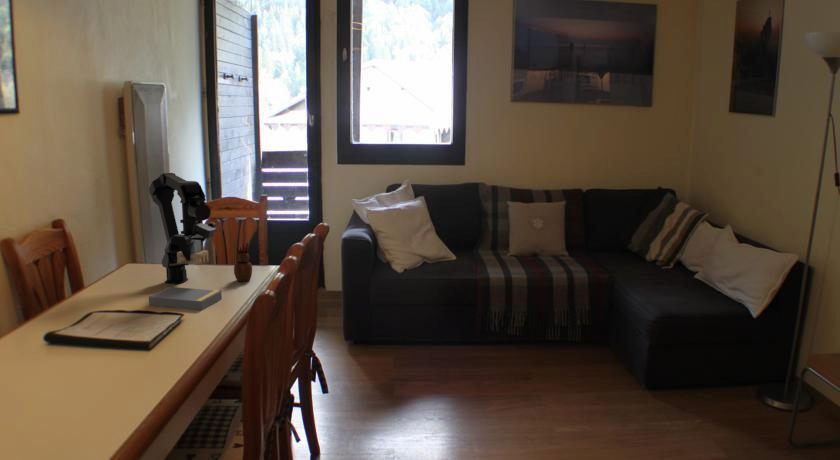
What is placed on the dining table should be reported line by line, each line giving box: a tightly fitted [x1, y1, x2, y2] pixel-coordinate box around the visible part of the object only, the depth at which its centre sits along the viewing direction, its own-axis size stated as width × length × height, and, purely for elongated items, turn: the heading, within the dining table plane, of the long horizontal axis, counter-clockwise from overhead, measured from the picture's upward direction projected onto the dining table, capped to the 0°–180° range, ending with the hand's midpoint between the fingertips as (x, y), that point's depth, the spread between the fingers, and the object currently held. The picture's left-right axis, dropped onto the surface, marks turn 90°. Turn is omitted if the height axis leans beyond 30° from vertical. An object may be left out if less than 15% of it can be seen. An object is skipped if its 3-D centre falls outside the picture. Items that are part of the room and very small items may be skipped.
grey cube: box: [190, 239, 202, 253], centre depth 248 cm, size 4×4×4 cm
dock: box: [148, 286, 222, 311], centre depth 237 cm, size 20×13×3 cm, turn 77°
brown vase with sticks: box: [233, 242, 253, 282], centre depth 264 cm, size 7×6×15 cm
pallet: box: [177, 249, 209, 266], centre depth 249 cm, size 9×6×4 cm, turn 77°
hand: (192, 258), depth 249 cm, fingers closed on pallet, 6 cm apart
